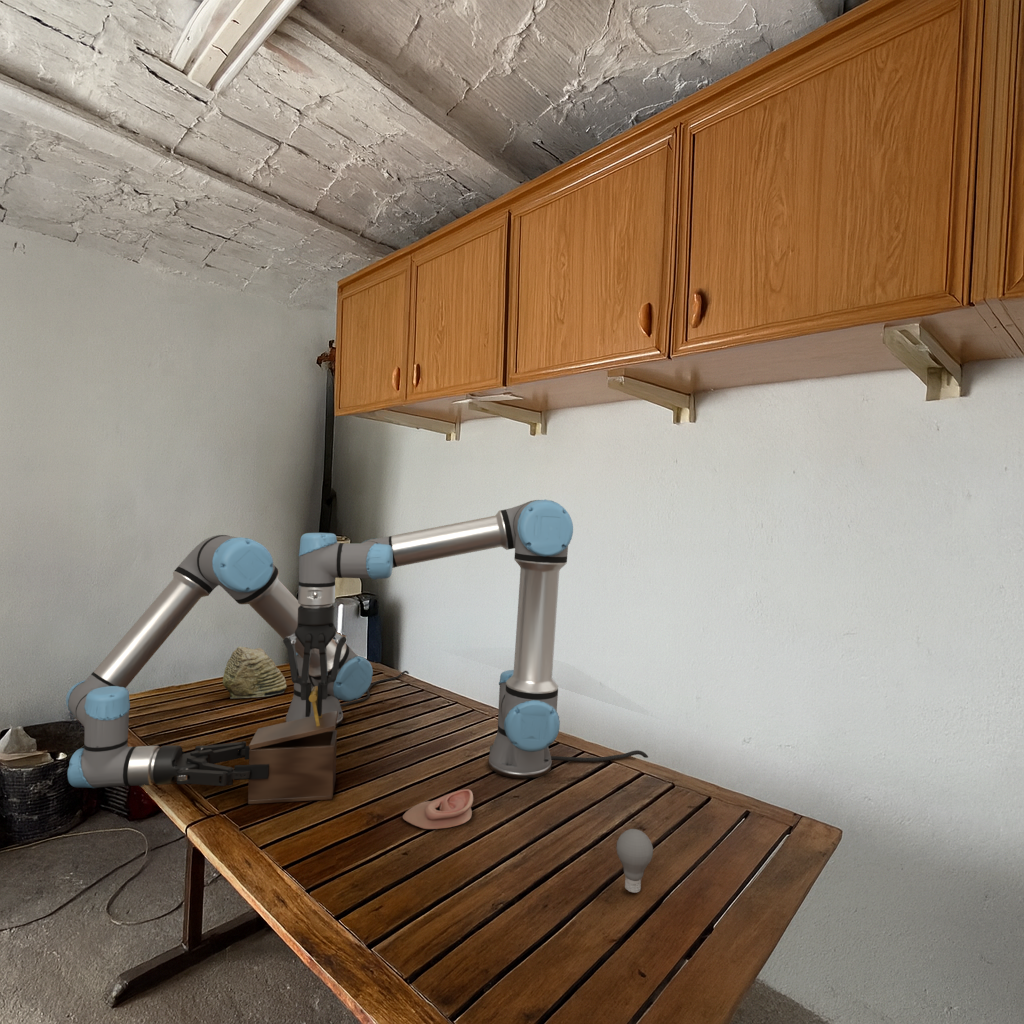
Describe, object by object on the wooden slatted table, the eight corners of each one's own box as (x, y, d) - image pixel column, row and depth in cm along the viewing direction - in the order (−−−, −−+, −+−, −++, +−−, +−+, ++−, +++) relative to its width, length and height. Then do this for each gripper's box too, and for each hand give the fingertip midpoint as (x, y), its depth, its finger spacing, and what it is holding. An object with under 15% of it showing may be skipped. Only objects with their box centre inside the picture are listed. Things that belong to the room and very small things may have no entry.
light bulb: (610, 879, 108) (613, 822, 108) (644, 879, 109) (647, 822, 109) (619, 902, 102) (622, 840, 102) (655, 901, 103) (658, 840, 103)
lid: (338, 714, 142) (332, 680, 141) (335, 730, 132) (328, 693, 132) (258, 732, 138) (251, 697, 138) (249, 749, 129) (242, 712, 129)
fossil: (218, 695, 195) (220, 647, 195) (278, 685, 208) (279, 640, 207) (228, 703, 189) (230, 653, 188) (289, 692, 201) (290, 645, 201)
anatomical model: (397, 804, 123) (417, 779, 135) (396, 824, 123) (417, 798, 135) (462, 814, 121) (478, 788, 132) (462, 835, 121) (477, 807, 132)
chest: (335, 779, 142) (337, 730, 142) (332, 799, 133) (333, 746, 132) (256, 783, 138) (258, 733, 138) (247, 804, 129) (249, 750, 129)
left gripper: (174, 761, 141) (280, 757, 145) (136, 809, 119) (262, 803, 124) (175, 727, 141) (281, 725, 145) (137, 770, 119) (263, 765, 124)
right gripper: (277, 608, 130) (274, 721, 131) (351, 608, 133) (348, 719, 134) (283, 602, 138) (280, 709, 138) (352, 602, 141) (349, 707, 141)
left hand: (272, 761), depth 134 cm, fingers closed on chest, 9 cm apart
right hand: (313, 714), depth 136 cm, fingers closed on lid, 2 cm apart
